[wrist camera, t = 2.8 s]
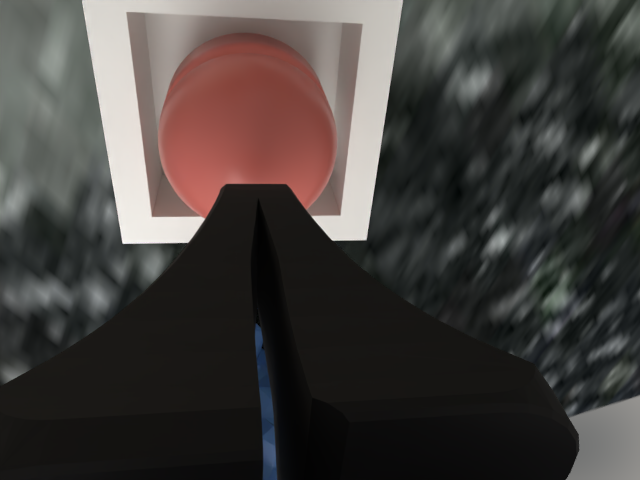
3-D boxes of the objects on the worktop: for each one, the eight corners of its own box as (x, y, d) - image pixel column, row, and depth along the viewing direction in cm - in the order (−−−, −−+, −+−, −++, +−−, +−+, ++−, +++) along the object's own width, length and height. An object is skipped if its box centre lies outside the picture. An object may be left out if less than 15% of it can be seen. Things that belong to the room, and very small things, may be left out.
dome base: (350, 196, 20) (366, 240, 18) (136, 196, 19) (122, 243, 17) (379, -33, 16) (405, -16, 13) (101, -52, 15) (75, -36, 12)
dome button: (318, 179, 18) (341, 264, 14) (174, 178, 17) (156, 268, 13) (330, 33, 15) (363, 88, 11) (159, 25, 15) (133, 81, 11)
